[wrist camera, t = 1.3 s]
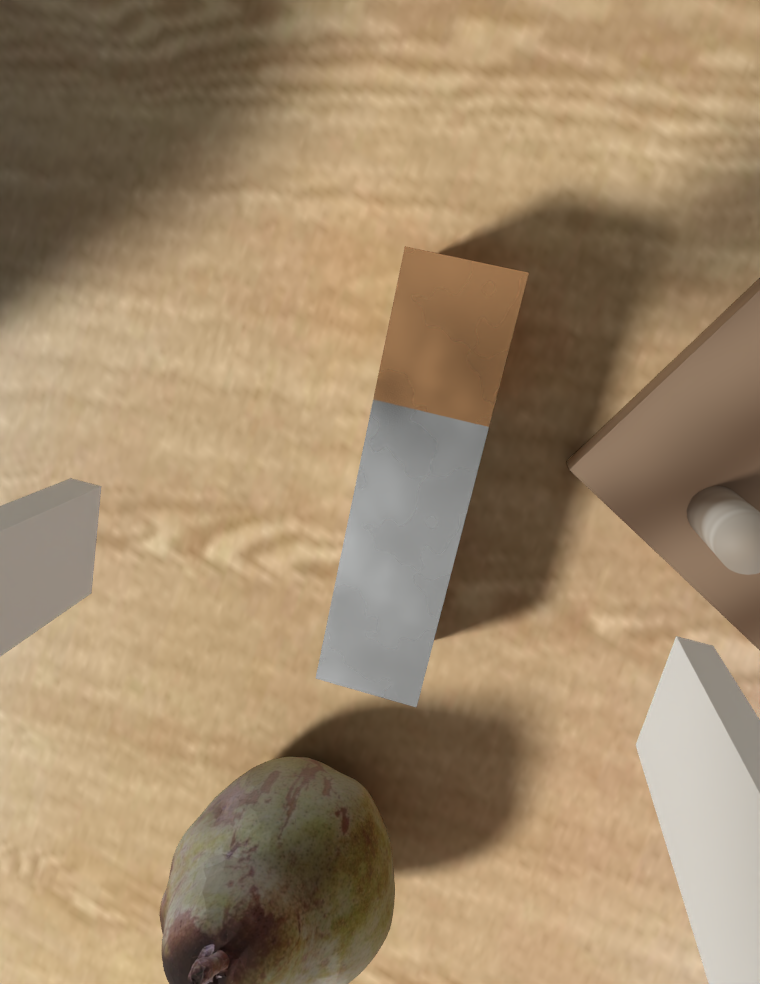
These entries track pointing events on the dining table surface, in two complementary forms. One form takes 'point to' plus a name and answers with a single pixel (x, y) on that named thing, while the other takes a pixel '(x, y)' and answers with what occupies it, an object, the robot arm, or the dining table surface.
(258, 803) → the fruit
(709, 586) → the peg rack
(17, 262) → the dining table surface
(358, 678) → the bar
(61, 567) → the robot arm
